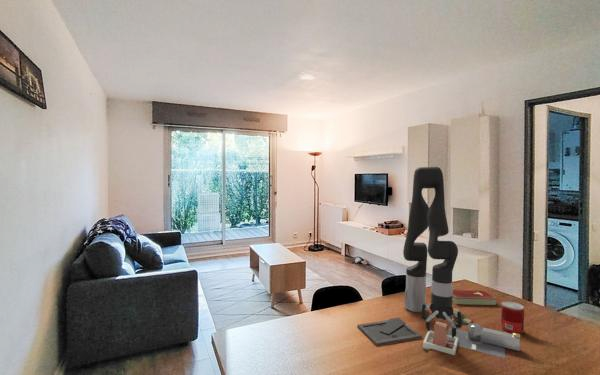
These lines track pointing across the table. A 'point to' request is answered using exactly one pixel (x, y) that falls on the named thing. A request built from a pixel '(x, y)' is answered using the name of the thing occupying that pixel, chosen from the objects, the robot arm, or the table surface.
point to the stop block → (440, 334)
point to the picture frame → (388, 331)
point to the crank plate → (476, 344)
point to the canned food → (512, 317)
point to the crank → (493, 337)
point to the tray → (428, 344)
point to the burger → (464, 318)
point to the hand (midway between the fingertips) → (440, 333)
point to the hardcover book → (473, 297)
